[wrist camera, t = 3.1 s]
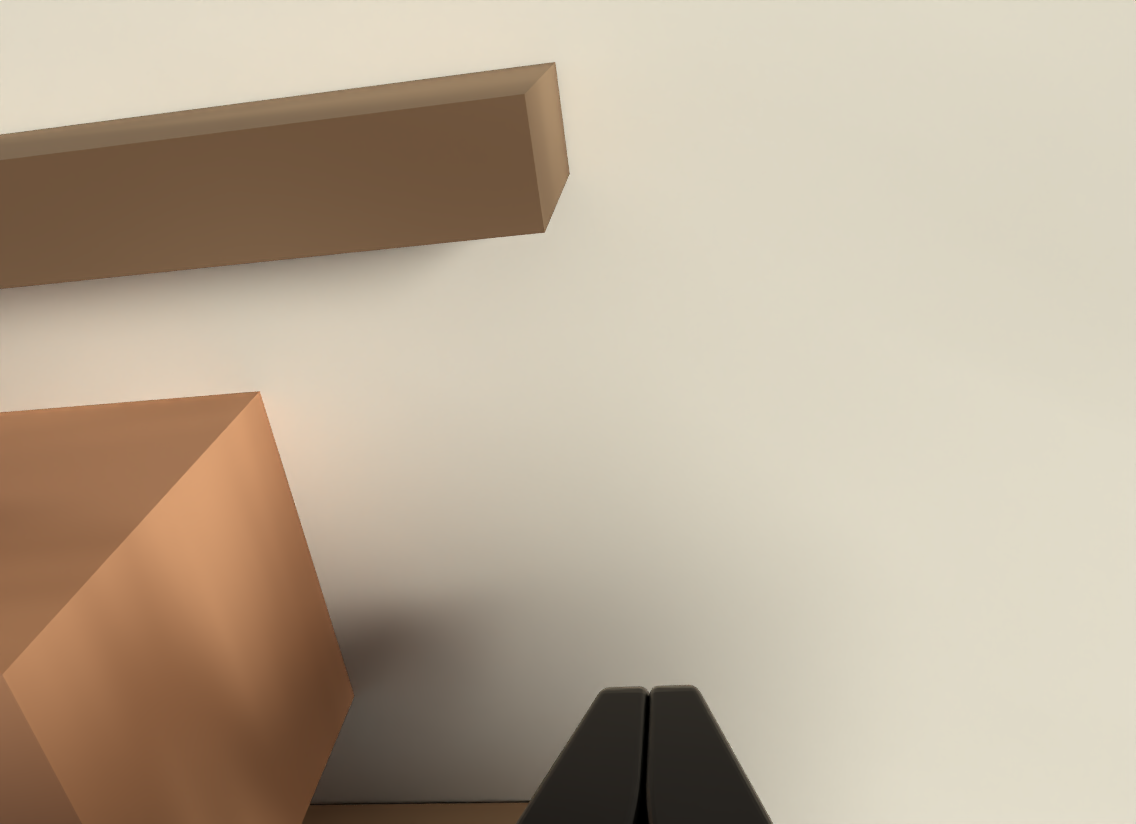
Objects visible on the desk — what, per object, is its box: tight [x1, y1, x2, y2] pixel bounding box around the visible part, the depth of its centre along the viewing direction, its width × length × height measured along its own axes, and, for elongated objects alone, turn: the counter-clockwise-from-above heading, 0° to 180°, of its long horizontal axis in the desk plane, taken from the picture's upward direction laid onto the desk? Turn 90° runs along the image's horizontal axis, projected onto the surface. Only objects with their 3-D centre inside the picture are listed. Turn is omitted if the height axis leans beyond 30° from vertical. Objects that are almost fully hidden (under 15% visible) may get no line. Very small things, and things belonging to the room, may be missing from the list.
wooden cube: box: [0, 391, 354, 824], centre depth 9 cm, size 4×4×4 cm
